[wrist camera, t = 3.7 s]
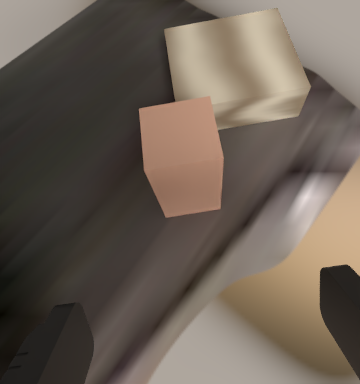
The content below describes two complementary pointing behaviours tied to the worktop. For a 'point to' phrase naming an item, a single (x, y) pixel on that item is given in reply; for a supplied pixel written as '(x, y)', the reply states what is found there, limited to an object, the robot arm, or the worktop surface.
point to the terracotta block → (183, 155)
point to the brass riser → (238, 68)
